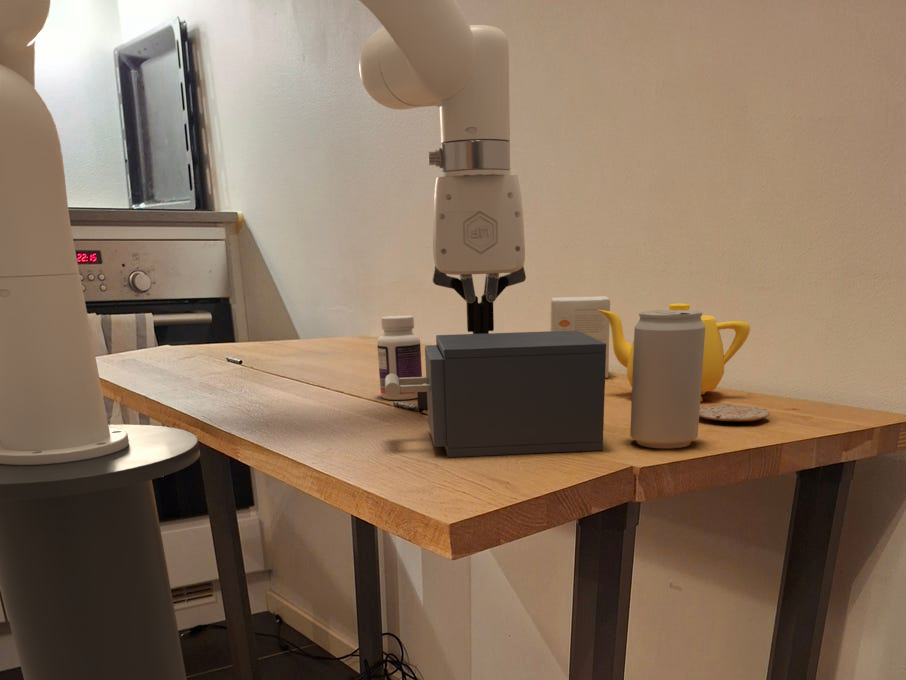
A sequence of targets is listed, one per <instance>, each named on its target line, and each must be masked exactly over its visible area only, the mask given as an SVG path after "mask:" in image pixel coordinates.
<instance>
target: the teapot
mask: <svg viewBox="0 0 906 680" xmlns="http://www.w3.org/2000/svg"><path fill="white" fill-rule="evenodd" d="M690 307H691V304H689V303H682V302H681V303H671V304H669V305H668V310H690ZM598 310H599V309H598ZM599 311H600V312H601V313H602V314H604V315H605V316H606V317H607V319H608V320H609V322H610V329H611V338H612V349H613V352H614V355H615V358H616V360H617V361H618V363H620V365H622V366H623V367H625V368H626V378H627V380H628V383H629V385H630V387H631V388H632V378H633V353H634V339H633V341H632V343H631V344H630V343H629V342H628V341H627V340H626V338H625V336H624V331H623V324H622V320H621V318H620V316H619V315H618V313H616V312H613V311H611V310H610V311H605V310H599ZM701 319H702V321H703V323H704V325H705V341H704V355H703V369H702V383H701V395H705V394H706V392H712V391H715V390H716V389H717V387H718V385H719V384H720V382H721V380H722V378H723V376H724V374H725V366H726V365H727V363H728V362H729V361H730V360H731V359H732V358H733V357H734V355H736V354H737V352H738V351H739V350H740V349H741V347H743V345H744V344H745V342H746V341H747V339H748V337H749V335H750V331H751V326H750V324H749V323H748V322H746V321H744V320H730V321H729V320H728V321H722V322H717V319H716V317H715V316H713V315H707V314H706V315H705V314H702V316H701ZM720 330H734V332H735V334H734V338H733V340H732V342H731V344H730V346H729V348H728V349H727V351H726V352H724V345H723V340H722V336H721V333H720ZM700 402H703V397H702V396H701V397H700Z"/></svg>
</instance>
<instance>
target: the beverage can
mask: <svg viewBox="0 0 906 680" xmlns="http://www.w3.org/2000/svg"><path fill="white" fill-rule="evenodd" d="M702 315H703V312H702V311H700V310H690V309H689V310H669V309H655V310H645V311H641V312H639V313H638V317H639V319H638V321H637V323H636V324H635V326H634V328H633V329H634V330H633V332H634V333H633V336H634V337H633V340H634V353H633V378H632V387H631V404H630V406H631V407H630V428H629V430H630V431H629V435H630V438H632V439H633V440H634V441H635V442H636V444H637V445H639V446H641V447H645V448H650V449H651V448H652V449H681V448H686V447H688V446H690V445H691V442H693V441H694V440H696V439H697V438H698V436H699V426H700V425H699V424H700V417H699V411H700V408H701V401H700V397H702V394H701V383H702V369H703V355H704V341H705V325H704V323H703V321H702V319H701V316H702Z"/></svg>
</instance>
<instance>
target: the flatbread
mask: <svg viewBox="0 0 906 680" xmlns="http://www.w3.org/2000/svg"><path fill="white" fill-rule="evenodd" d="M770 414H771V412H770V411H769V410H768V409H766V408H761V407H758V406H757V407H756V406H746V405H739V404H738V405H737V404H728V403H719V404H718V403H717V404H714V405H713V404H712V405H708V406H702V407H701V406H700V411H699V418H702V419H707V420H713V421H720V422H721V421H723V422H754V421H759V420H761V419H764V418H767V417H769V416H770Z"/></svg>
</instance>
